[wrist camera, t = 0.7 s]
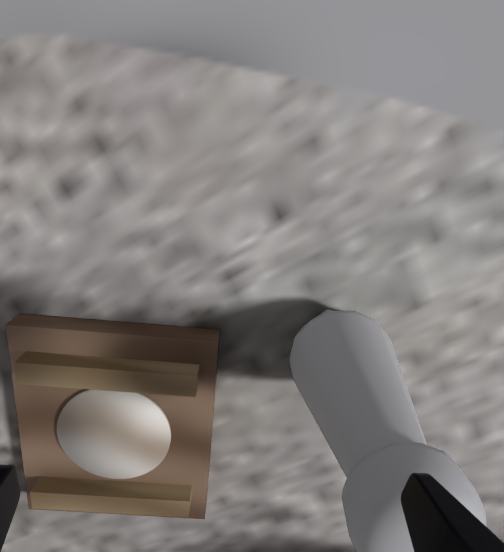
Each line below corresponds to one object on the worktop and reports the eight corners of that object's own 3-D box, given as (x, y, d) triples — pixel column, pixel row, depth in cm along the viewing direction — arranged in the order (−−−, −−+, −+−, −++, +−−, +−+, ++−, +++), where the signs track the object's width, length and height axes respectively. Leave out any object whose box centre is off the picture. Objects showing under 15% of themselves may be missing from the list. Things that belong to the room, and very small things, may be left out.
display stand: (206, 499, 28) (202, 535, 25) (40, 490, 27) (18, 525, 24) (220, 329, 23) (216, 352, 20) (20, 313, 22) (-9, 334, 20)
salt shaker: (284, 379, 24) (323, 617, 12) (285, 297, 22) (334, 479, 10) (374, 377, 24) (505, 612, 12) (383, 295, 22) (549, 474, 10)
